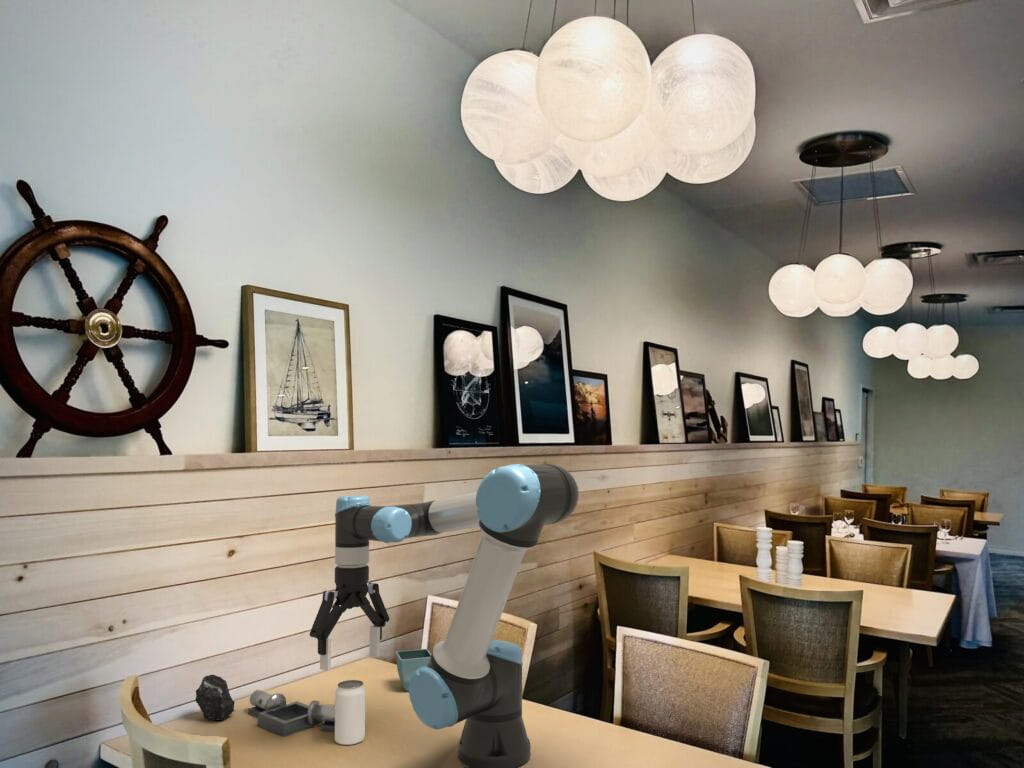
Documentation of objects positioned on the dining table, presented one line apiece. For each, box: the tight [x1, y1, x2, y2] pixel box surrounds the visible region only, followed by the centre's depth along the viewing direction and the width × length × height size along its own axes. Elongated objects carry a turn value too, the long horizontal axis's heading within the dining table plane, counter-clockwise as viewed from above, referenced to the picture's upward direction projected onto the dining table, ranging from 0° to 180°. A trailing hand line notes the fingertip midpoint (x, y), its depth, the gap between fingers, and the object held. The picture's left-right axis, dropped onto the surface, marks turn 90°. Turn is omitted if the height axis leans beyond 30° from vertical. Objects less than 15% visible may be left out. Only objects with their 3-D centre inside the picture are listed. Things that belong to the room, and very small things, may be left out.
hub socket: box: [257, 701, 324, 737], centre depth 171 cm, size 10×10×3 cm
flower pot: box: [395, 648, 432, 692], centre depth 197 cm, size 9×9×9 cm
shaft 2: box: [307, 699, 335, 733], centre depth 169 cm, size 9×5×6 cm, turn 80°
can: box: [334, 679, 366, 746], centre depth 162 cm, size 6×6×12 cm
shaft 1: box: [247, 689, 287, 719], centre depth 177 cm, size 9×5×6 cm, turn 50°
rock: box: [194, 674, 235, 721], centre depth 175 cm, size 8×7×10 cm
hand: (350, 662), depth 163 cm, fingers open, 13 cm apart
